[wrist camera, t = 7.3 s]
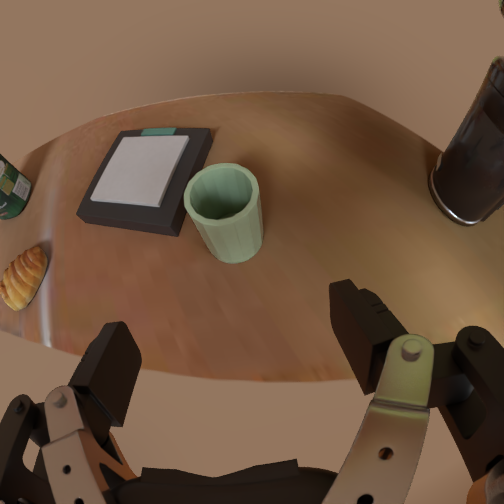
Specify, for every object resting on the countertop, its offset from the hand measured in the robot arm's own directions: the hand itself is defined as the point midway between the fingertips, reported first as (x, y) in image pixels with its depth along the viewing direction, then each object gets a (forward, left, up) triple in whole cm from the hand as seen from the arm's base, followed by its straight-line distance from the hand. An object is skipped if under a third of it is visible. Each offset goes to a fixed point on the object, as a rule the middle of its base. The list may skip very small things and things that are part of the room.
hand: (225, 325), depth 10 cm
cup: (+4, -10, -15) cm, 18 cm away
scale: (+17, -16, -15) cm, 28 cm away
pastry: (+32, +1, -15) cm, 35 cm away
